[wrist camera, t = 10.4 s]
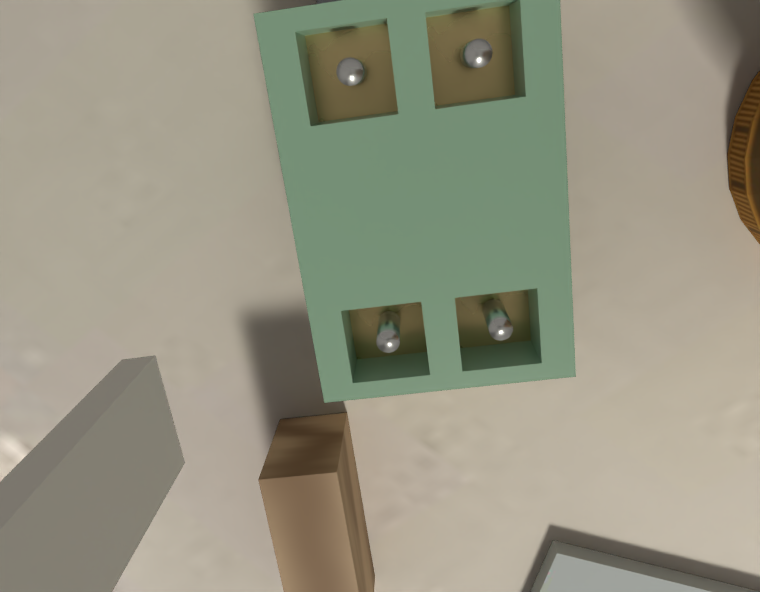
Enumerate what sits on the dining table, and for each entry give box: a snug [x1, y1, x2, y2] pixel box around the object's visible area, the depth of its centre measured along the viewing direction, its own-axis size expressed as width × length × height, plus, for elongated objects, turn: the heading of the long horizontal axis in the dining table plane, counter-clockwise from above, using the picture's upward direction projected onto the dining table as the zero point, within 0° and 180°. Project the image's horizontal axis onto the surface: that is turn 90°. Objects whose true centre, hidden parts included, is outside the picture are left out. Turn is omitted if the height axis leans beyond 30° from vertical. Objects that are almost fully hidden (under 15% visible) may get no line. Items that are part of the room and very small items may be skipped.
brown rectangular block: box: [259, 413, 375, 592], centre depth 37 cm, size 4×12×6 cm, turn 8°
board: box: [254, 0, 576, 403], centre depth 27 cm, size 11×16×2 cm
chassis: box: [305, 0, 531, 359], centre depth 29 cm, size 9×20×8 cm, turn 8°
